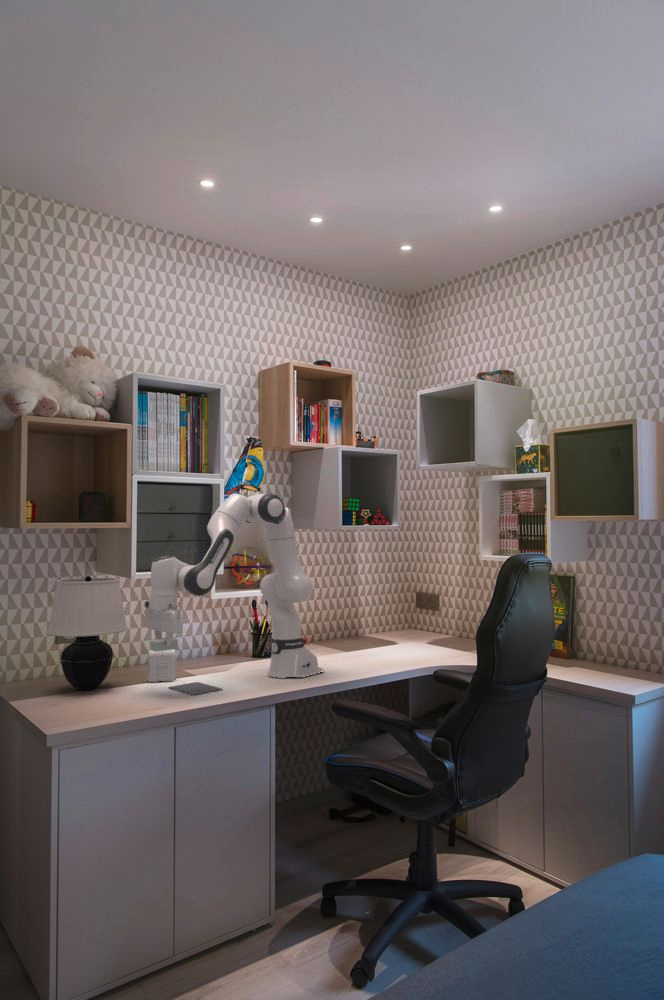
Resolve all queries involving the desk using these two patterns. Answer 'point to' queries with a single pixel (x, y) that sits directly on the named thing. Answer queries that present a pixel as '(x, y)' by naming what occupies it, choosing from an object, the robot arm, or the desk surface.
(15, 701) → the desk surface
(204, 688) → the desk mat
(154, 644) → the card box
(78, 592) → the table lamp
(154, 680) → the white upright rounded block
